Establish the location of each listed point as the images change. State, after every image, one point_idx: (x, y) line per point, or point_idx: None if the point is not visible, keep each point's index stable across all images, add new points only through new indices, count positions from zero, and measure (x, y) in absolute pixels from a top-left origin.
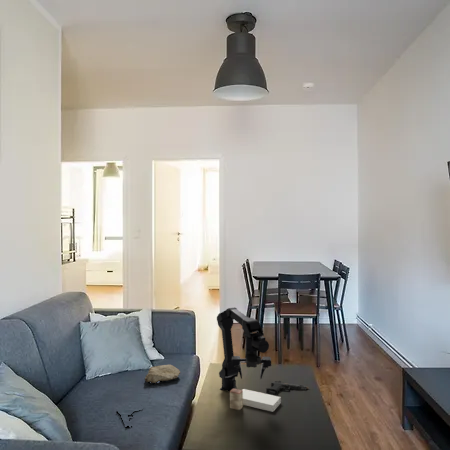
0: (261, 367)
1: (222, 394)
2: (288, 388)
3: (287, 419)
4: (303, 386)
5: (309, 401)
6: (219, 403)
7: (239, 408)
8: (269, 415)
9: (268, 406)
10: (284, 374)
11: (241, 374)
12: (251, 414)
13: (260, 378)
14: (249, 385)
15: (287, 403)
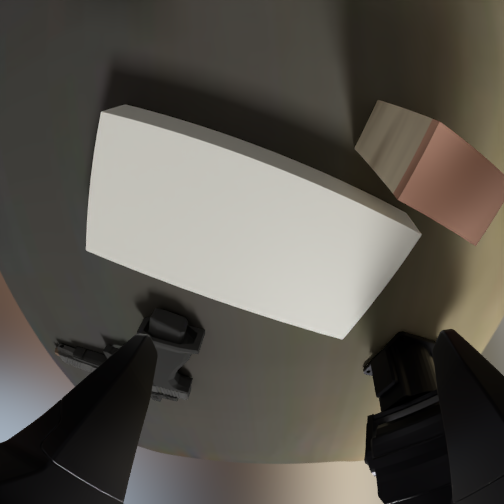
0: (98, 496)
1: (447, 303)
2: (107, 353)
3: (48, 42)
4: (65, 357)
5: (15, 259)
6: None
7: (381, 101)
8: (144, 48)
9: (142, 117)
10: (167, 429)
11: (479, 378)
12: (280, 35)
13: (142, 341)
14: (296, 386)
15: (75, 231)
